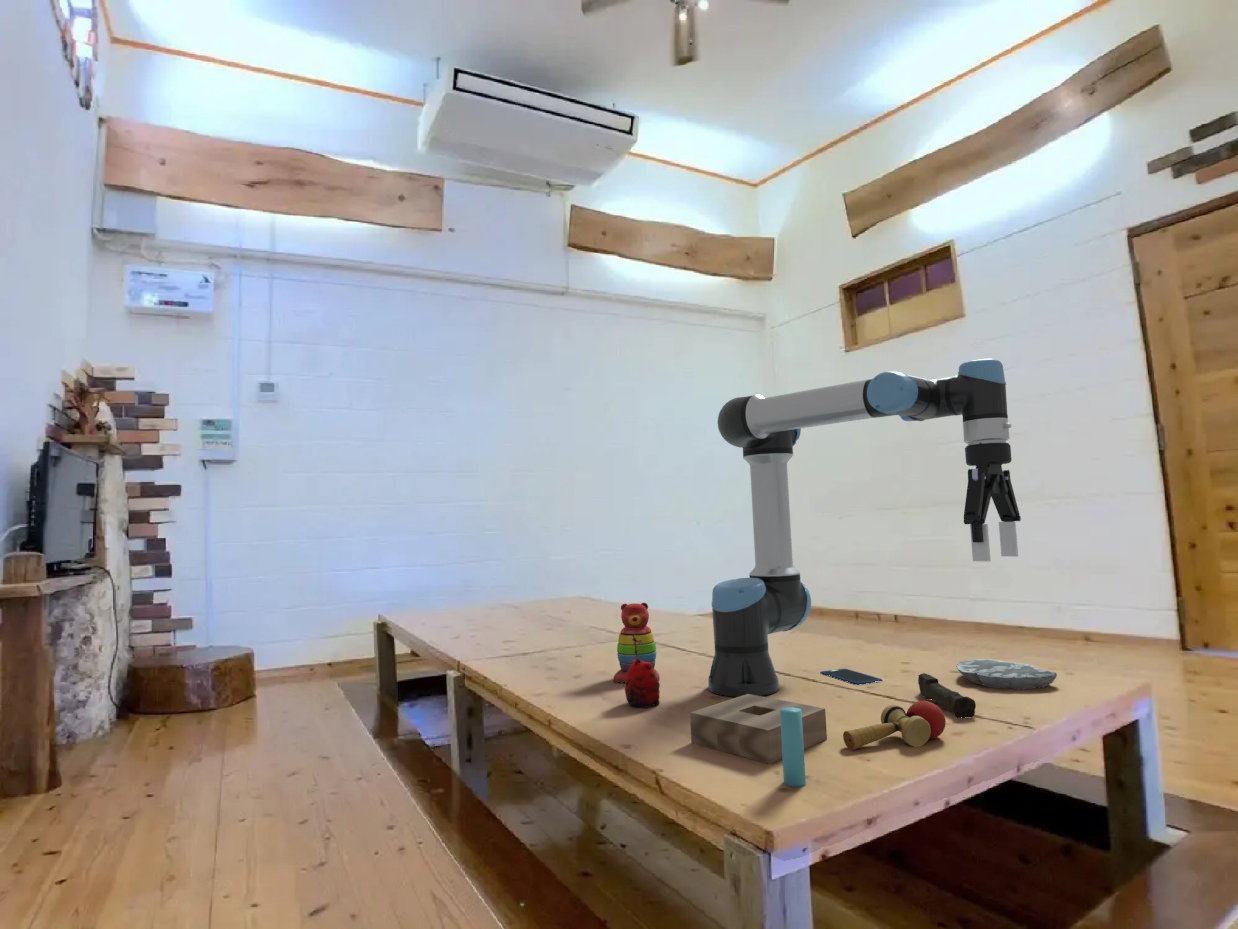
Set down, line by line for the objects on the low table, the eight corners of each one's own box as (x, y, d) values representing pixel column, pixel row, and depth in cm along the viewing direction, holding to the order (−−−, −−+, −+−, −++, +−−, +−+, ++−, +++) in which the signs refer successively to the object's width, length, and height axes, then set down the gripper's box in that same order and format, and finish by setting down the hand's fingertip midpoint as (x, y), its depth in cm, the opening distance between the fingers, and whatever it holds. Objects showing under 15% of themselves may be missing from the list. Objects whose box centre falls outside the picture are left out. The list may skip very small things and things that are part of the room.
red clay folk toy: (667, 703, 146) (664, 629, 147) (645, 711, 140) (642, 634, 141) (639, 698, 151) (636, 626, 152) (617, 706, 145) (614, 631, 146)
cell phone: (845, 671, 170) (844, 668, 170) (884, 683, 157) (884, 679, 157) (818, 674, 168) (818, 671, 168) (856, 687, 155) (856, 683, 155)
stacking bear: (612, 683, 165) (609, 606, 167) (618, 674, 175) (615, 601, 177) (658, 683, 164) (655, 605, 165) (661, 673, 174) (658, 600, 175)
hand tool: (977, 719, 127) (975, 693, 128) (955, 720, 127) (953, 693, 128) (934, 694, 146) (933, 671, 147) (915, 694, 146) (913, 671, 147)
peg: (779, 783, 100) (775, 710, 101) (791, 777, 102) (787, 706, 103) (797, 788, 98) (793, 714, 99) (809, 782, 100) (805, 709, 101)
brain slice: (935, 679, 158) (934, 665, 159) (989, 670, 165) (988, 657, 165) (1015, 698, 141) (1013, 682, 141) (1072, 687, 147) (1071, 672, 147)
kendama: (869, 767, 109) (962, 736, 115) (857, 725, 110) (950, 695, 116) (841, 761, 116) (930, 731, 122) (830, 721, 118) (919, 694, 123)
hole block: (691, 742, 120) (689, 712, 120) (749, 721, 131) (748, 693, 131) (770, 764, 108) (768, 730, 108) (827, 739, 119) (825, 708, 119)
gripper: (981, 437, 121) (991, 564, 119) (1032, 444, 138) (1041, 554, 136) (937, 442, 126) (946, 563, 125) (991, 448, 143) (999, 554, 141)
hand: (996, 559), depth 130 cm, fingers open, 13 cm apart
